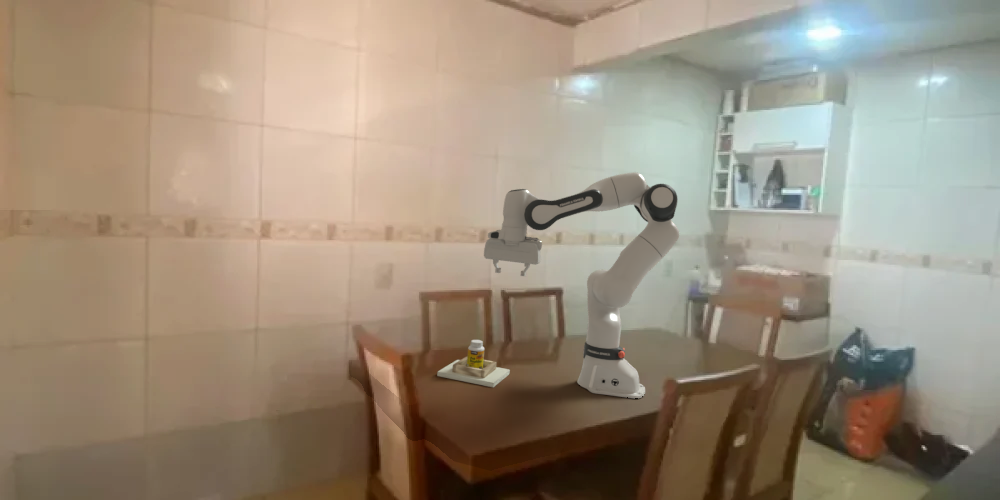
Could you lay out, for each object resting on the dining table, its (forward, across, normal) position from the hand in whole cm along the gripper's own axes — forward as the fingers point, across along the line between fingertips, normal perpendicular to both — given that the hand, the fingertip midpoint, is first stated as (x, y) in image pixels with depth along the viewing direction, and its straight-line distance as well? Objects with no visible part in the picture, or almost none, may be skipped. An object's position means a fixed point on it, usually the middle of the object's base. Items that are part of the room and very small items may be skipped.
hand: (510, 274), depth 188 cm
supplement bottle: (+33, +6, +12) cm, 35 cm away
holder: (+34, +6, +12) cm, 37 cm away
